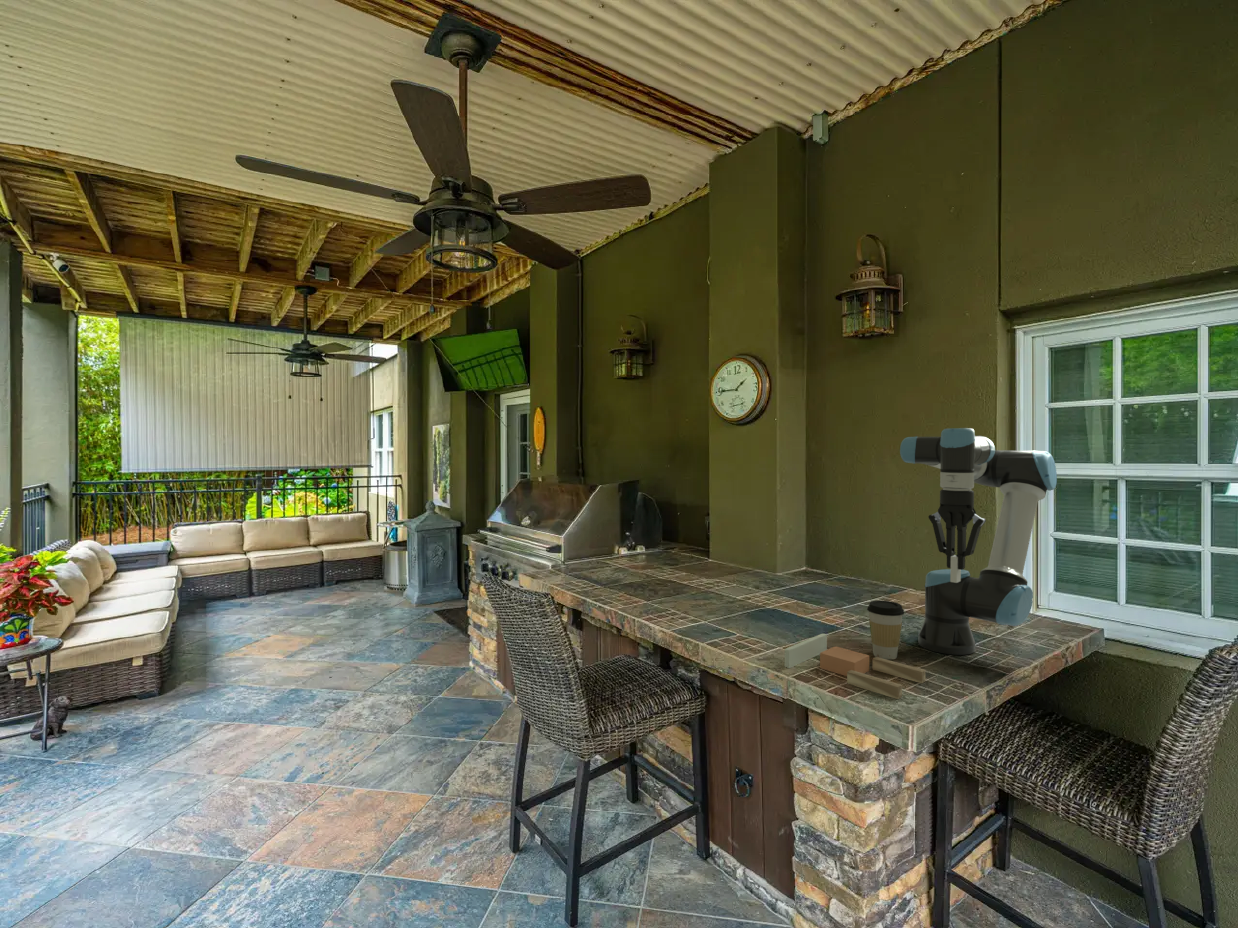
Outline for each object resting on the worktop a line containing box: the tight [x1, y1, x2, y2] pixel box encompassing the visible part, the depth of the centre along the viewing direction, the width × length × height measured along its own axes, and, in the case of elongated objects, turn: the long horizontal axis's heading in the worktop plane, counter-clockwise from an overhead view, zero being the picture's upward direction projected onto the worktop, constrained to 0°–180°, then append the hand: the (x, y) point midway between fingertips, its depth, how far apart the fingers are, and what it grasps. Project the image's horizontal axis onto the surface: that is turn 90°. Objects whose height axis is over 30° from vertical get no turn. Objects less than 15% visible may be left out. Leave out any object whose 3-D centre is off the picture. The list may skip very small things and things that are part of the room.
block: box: [819, 645, 870, 677], centre depth 164 cm, size 8×10×4 cm
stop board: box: [784, 632, 828, 669], centre depth 172 cm, size 20×1×5 cm, turn 132°
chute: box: [846, 656, 926, 700], centre depth 155 cm, size 16×13×3 cm
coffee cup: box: [866, 600, 905, 660], centre depth 174 cm, size 10×10×15 cm
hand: (955, 581), depth 153 cm, fingers closed
